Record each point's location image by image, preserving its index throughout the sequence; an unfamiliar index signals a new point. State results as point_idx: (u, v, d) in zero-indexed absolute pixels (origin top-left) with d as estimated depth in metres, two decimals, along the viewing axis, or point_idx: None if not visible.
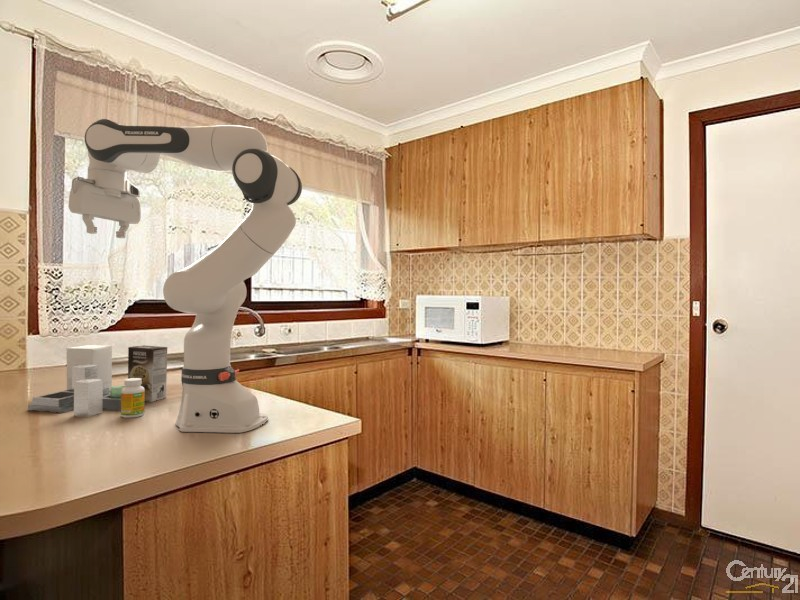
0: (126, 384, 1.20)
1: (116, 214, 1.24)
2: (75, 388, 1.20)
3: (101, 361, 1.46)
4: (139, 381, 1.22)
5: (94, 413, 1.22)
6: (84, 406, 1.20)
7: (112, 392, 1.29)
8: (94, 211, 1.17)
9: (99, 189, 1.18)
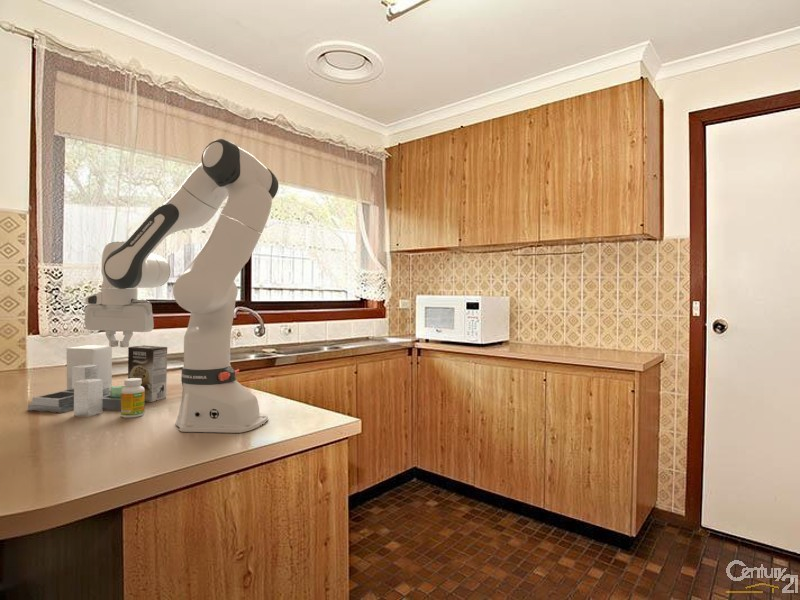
0: (126, 384, 1.20)
1: None
2: (75, 388, 1.20)
3: (101, 361, 1.46)
4: (139, 381, 1.22)
5: (94, 413, 1.22)
6: (84, 406, 1.20)
7: (112, 392, 1.29)
8: None
9: None
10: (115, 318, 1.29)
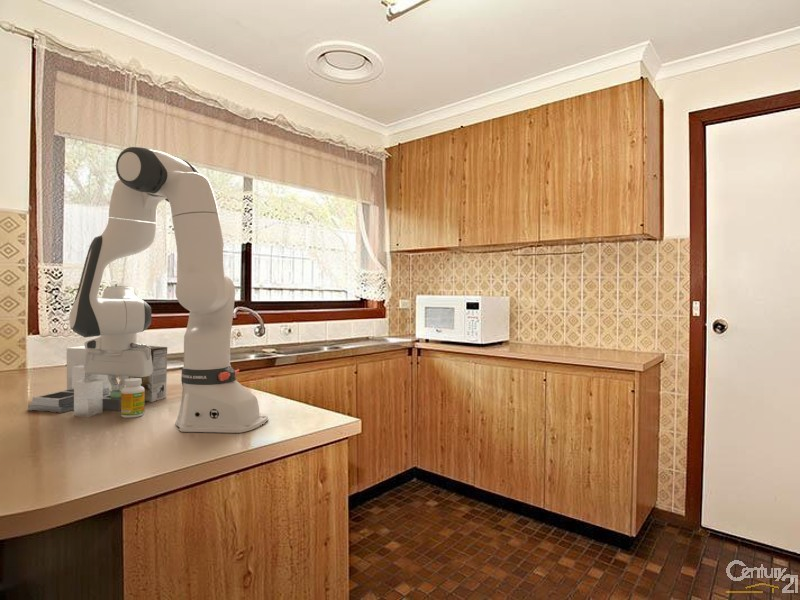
0: (126, 384, 1.20)
1: None
2: (75, 388, 1.20)
3: None
4: (139, 381, 1.22)
5: (94, 413, 1.22)
6: (84, 406, 1.20)
7: (112, 396, 1.29)
8: None
9: None
10: (114, 362, 1.29)
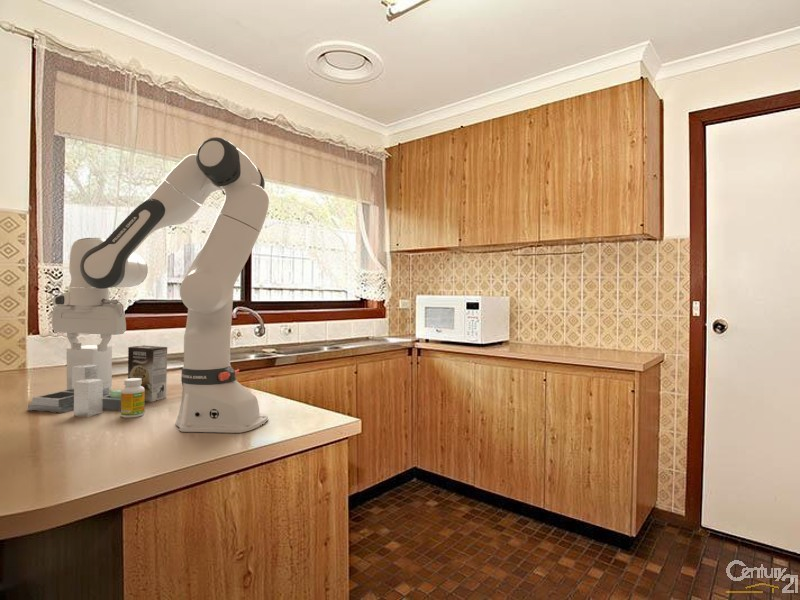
0: (126, 384, 1.20)
1: None
2: (75, 388, 1.20)
3: (101, 361, 1.46)
4: (139, 381, 1.22)
5: (94, 413, 1.22)
6: (84, 406, 1.20)
7: (112, 396, 1.29)
8: None
9: None
10: (84, 319, 1.20)
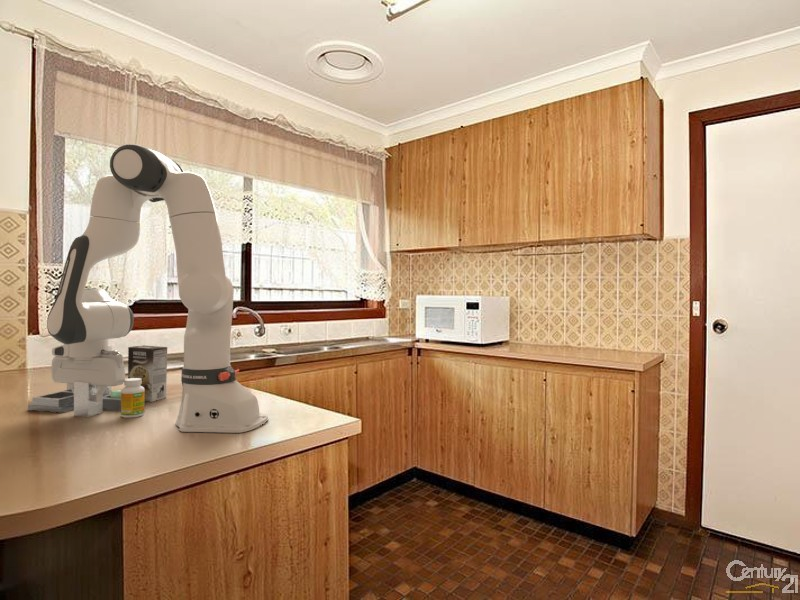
0: (126, 384, 1.20)
1: None
2: (75, 388, 1.20)
3: None
4: (139, 381, 1.22)
5: (94, 413, 1.22)
6: (84, 406, 1.20)
7: (112, 396, 1.29)
8: None
9: None
10: (83, 370, 1.20)
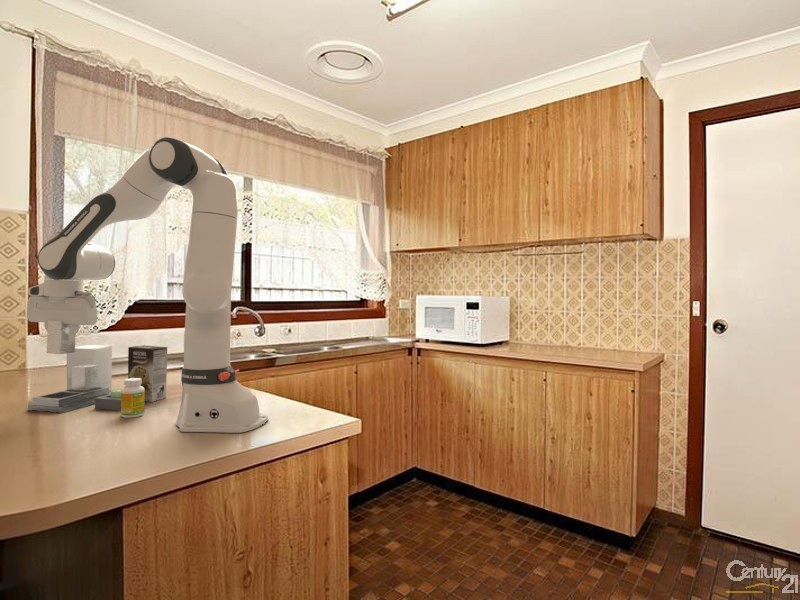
0: (126, 384, 1.20)
1: None
2: (49, 327, 1.26)
3: (101, 361, 1.46)
4: (139, 381, 1.22)
5: (66, 351, 1.27)
6: (57, 343, 1.25)
7: (112, 396, 1.29)
8: None
9: None
10: (57, 310, 1.26)
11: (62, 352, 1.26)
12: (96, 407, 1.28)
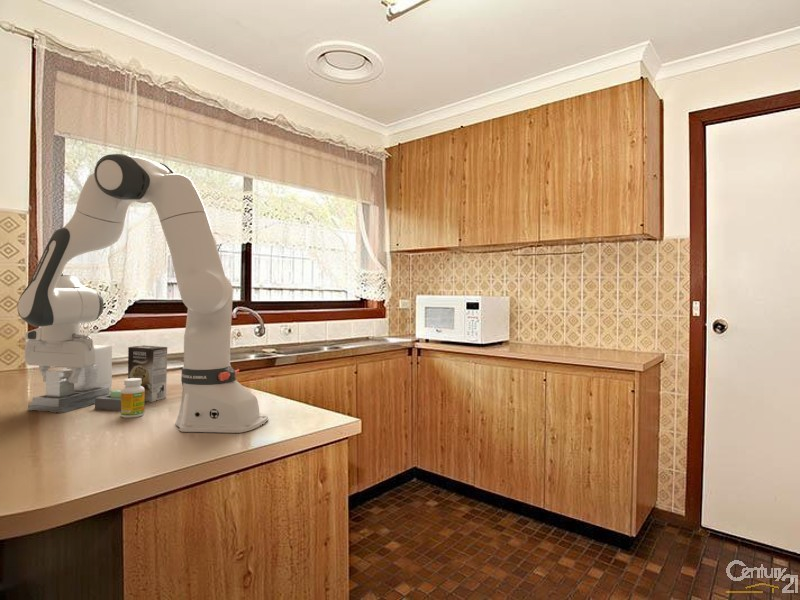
0: (126, 384, 1.20)
1: None
2: (47, 377, 1.26)
3: (101, 361, 1.46)
4: (139, 381, 1.22)
5: None
6: (56, 394, 1.26)
7: (112, 396, 1.29)
8: None
9: None
10: (55, 353, 1.26)
11: None
12: (96, 407, 1.28)
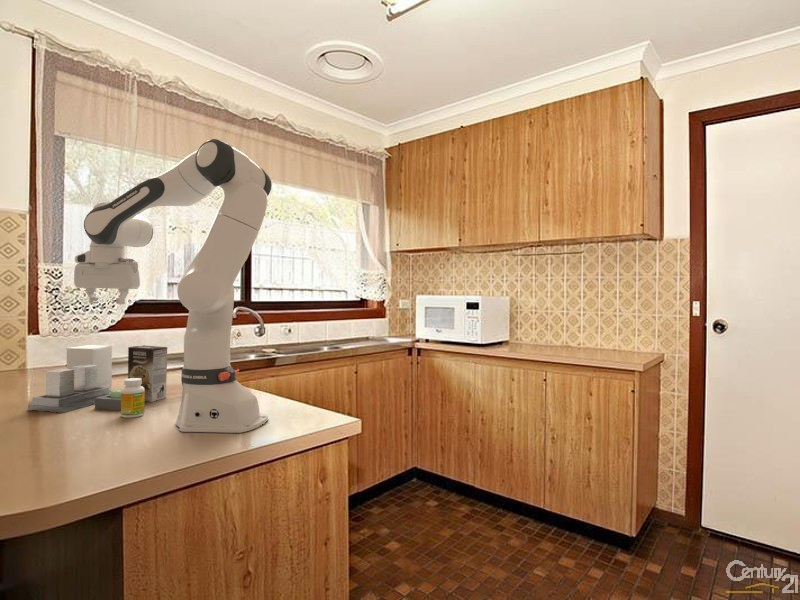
0: (126, 384, 1.20)
1: None
2: (47, 377, 1.26)
3: (101, 361, 1.46)
4: (139, 381, 1.22)
5: None
6: (56, 394, 1.26)
7: (112, 396, 1.29)
8: None
9: None
10: (103, 275, 1.35)
11: None
12: (96, 407, 1.28)
